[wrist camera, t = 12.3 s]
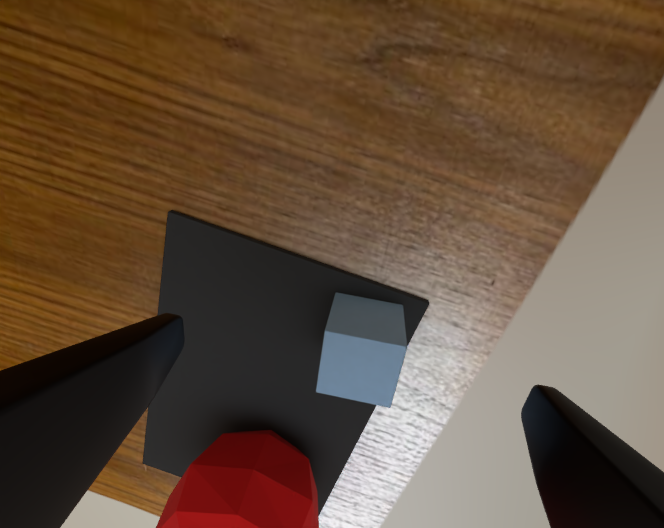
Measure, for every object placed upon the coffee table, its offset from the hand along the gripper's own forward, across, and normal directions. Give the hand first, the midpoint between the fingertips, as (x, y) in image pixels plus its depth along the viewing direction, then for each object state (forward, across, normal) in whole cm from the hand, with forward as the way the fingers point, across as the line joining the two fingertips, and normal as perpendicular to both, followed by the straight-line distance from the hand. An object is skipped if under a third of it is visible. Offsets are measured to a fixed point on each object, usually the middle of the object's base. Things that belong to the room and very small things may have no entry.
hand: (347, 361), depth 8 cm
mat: (+11, +6, +14) cm, 19 cm away
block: (+10, -1, +6) cm, 12 cm away
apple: (+10, +5, +20) cm, 23 cm away
